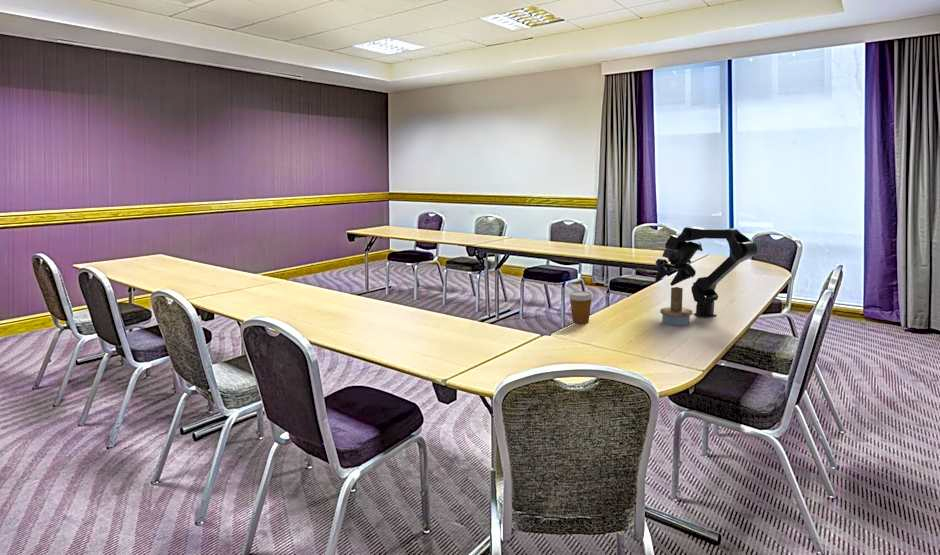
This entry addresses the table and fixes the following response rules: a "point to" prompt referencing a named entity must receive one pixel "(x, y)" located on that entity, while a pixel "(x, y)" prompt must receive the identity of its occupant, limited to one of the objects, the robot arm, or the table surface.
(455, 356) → the table surface
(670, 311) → the walnut lid
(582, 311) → the disposable coffee cup
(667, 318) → the slate bowl
